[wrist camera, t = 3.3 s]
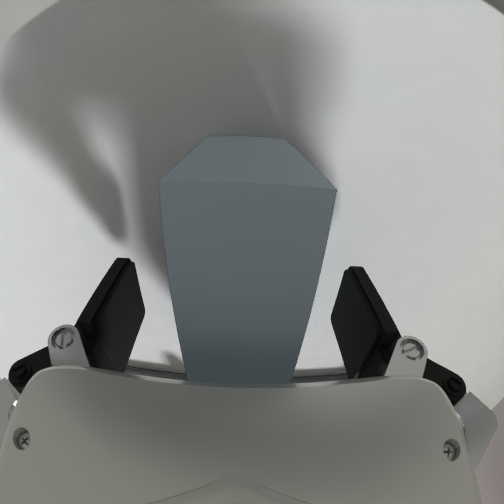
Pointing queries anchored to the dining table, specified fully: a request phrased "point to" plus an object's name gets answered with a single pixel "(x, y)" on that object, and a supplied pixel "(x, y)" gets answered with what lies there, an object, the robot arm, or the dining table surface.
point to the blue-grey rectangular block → (244, 255)
